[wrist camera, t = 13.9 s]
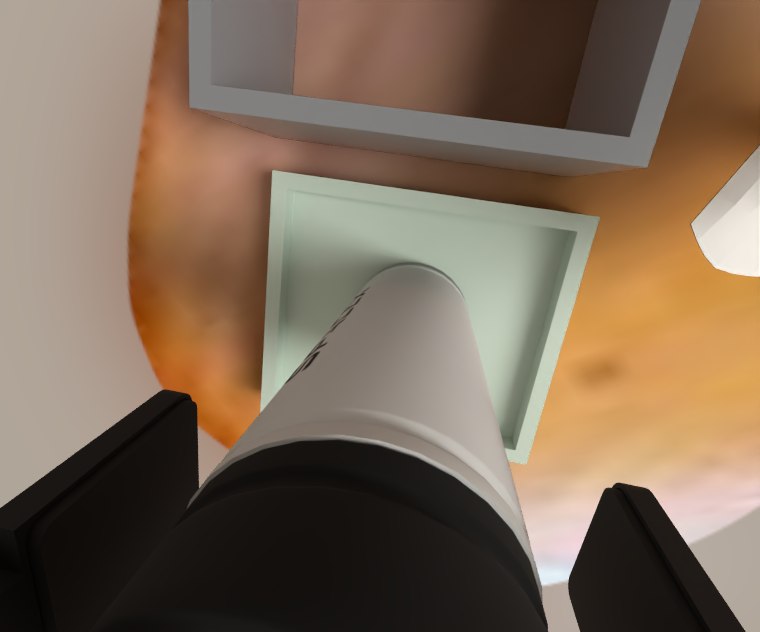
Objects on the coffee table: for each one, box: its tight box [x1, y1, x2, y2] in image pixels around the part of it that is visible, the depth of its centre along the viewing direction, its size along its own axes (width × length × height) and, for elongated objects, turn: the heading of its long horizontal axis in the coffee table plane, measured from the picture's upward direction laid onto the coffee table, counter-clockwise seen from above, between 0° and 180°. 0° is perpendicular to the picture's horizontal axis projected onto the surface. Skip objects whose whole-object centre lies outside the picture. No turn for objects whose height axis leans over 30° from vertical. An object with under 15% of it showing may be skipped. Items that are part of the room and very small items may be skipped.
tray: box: [260, 170, 600, 465], centre depth 23 cm, size 14×16×2 cm
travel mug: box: [89, 262, 548, 632], centre depth 13 cm, size 6×7×20 cm
